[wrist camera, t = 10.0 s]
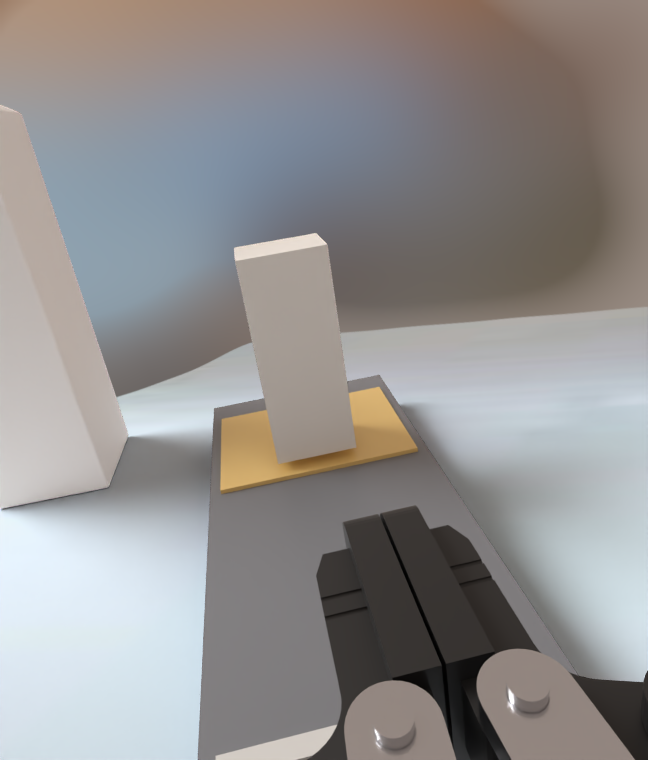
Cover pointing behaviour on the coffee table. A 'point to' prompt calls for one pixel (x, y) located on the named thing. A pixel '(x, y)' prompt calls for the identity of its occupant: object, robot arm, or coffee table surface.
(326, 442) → the block
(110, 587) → the coffee table surface
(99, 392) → the milk
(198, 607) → the coffee table surface
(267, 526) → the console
